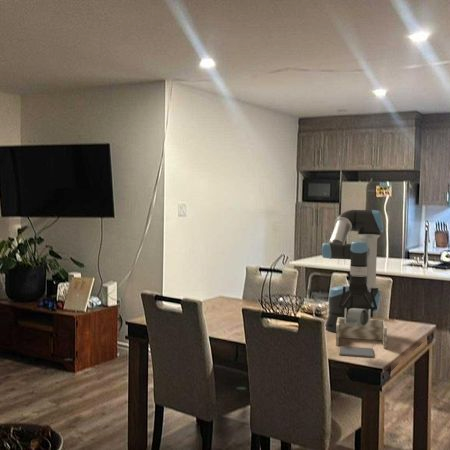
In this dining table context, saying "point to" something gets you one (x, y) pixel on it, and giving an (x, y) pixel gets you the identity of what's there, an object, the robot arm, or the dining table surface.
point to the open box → (362, 331)
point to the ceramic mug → (357, 317)
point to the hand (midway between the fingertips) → (357, 323)
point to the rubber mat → (356, 351)
